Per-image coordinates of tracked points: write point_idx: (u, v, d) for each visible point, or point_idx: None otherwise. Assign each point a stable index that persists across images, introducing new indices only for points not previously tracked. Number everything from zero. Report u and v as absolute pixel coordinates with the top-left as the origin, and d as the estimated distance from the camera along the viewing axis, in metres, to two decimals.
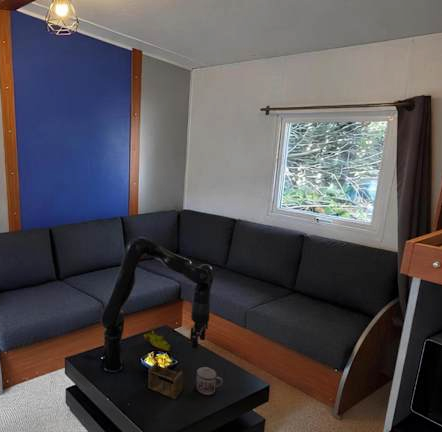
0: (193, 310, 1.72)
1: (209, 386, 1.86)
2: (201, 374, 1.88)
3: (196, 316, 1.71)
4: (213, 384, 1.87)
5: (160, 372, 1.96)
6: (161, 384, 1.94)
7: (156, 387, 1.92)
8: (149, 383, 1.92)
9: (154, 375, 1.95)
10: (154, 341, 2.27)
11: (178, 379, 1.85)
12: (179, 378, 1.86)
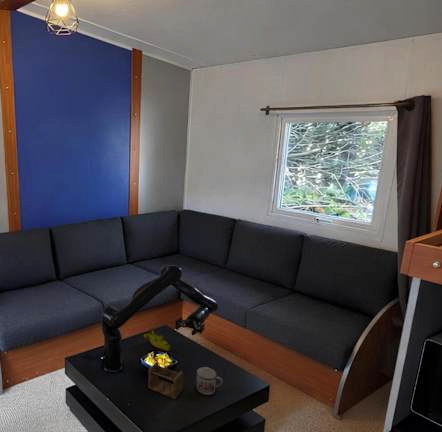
0: (203, 316, 2.13)
1: (209, 386, 1.86)
2: (201, 374, 1.88)
3: (202, 321, 2.11)
4: (213, 384, 1.87)
5: (160, 372, 1.96)
6: (161, 384, 1.94)
7: (156, 387, 1.92)
8: (149, 383, 1.92)
9: (154, 375, 1.95)
10: (154, 341, 2.27)
11: (178, 379, 1.85)
12: (179, 378, 1.86)
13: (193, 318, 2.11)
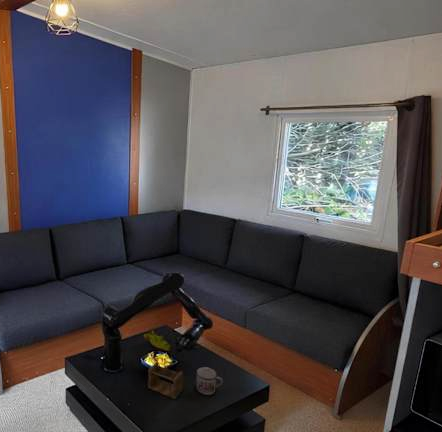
0: (197, 334, 2.11)
1: (209, 386, 1.86)
2: (201, 374, 1.88)
3: (197, 339, 2.10)
4: (213, 384, 1.87)
5: (160, 372, 1.96)
6: (161, 384, 1.94)
7: (156, 387, 1.92)
8: (149, 383, 1.92)
9: (154, 375, 1.95)
10: (154, 341, 2.27)
11: (178, 379, 1.85)
12: (179, 378, 1.86)
13: (188, 336, 2.09)
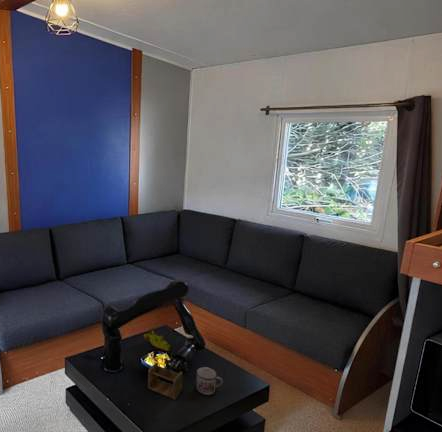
0: (189, 355, 2.05)
1: (209, 386, 1.86)
2: (201, 374, 1.88)
3: (188, 360, 2.03)
4: (213, 384, 1.87)
5: (160, 372, 1.96)
6: (161, 384, 1.94)
7: (156, 387, 1.91)
8: (149, 383, 1.92)
9: (154, 375, 1.94)
10: (154, 341, 2.27)
11: (178, 379, 1.85)
12: (179, 378, 1.86)
13: (179, 357, 2.03)
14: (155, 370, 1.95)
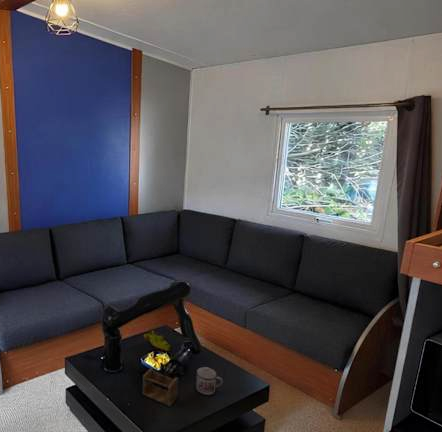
0: (185, 359, 2.01)
1: (209, 386, 1.86)
2: (201, 374, 1.88)
3: (184, 365, 1.99)
4: (213, 384, 1.87)
5: (155, 378, 1.91)
6: (156, 390, 1.89)
7: (151, 393, 1.87)
8: (143, 389, 1.88)
9: (149, 381, 1.90)
10: (154, 341, 2.27)
11: (173, 385, 1.81)
12: (174, 384, 1.82)
13: (175, 362, 1.99)
14: (150, 376, 1.91)
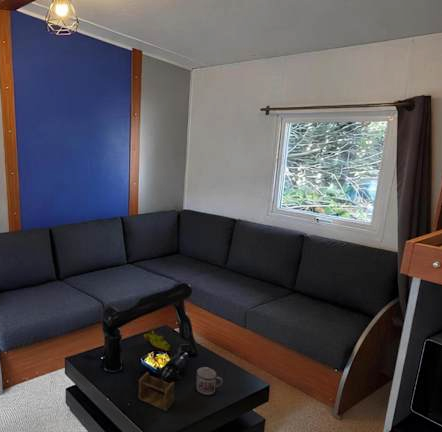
0: (182, 363, 1.98)
1: (209, 386, 1.86)
2: (201, 374, 1.88)
3: (181, 368, 1.96)
4: (213, 384, 1.87)
5: (151, 382, 1.88)
6: (152, 395, 1.86)
7: (147, 398, 1.84)
8: (139, 394, 1.85)
9: (145, 385, 1.87)
10: (154, 341, 2.27)
11: (169, 390, 1.78)
12: (170, 389, 1.79)
13: (171, 365, 1.96)
14: (146, 380, 1.87)
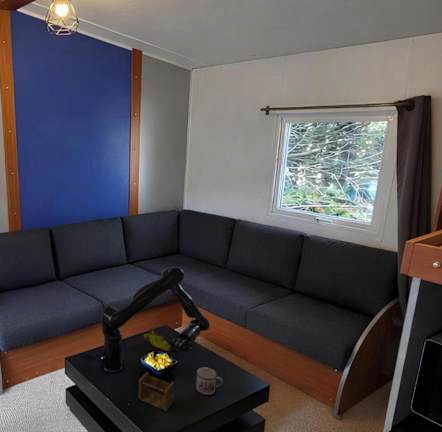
0: (193, 335, 2.06)
1: (209, 386, 1.86)
2: (201, 374, 1.88)
3: (193, 340, 2.05)
4: (213, 384, 1.87)
5: (151, 382, 1.88)
6: (152, 395, 1.86)
7: (147, 398, 1.84)
8: (139, 394, 1.85)
9: (145, 385, 1.87)
10: (154, 341, 2.27)
11: (169, 390, 1.78)
12: (170, 389, 1.79)
13: (184, 337, 2.04)
14: (146, 380, 1.87)
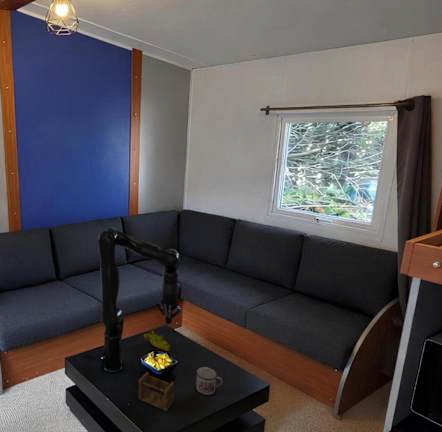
0: (174, 292, 1.89)
1: (209, 386, 1.86)
2: (201, 374, 1.88)
3: (176, 295, 1.90)
4: (213, 384, 1.87)
5: (151, 382, 1.88)
6: (152, 395, 1.86)
7: (147, 398, 1.84)
8: (139, 394, 1.85)
9: (145, 386, 1.87)
10: (154, 341, 2.27)
11: (169, 390, 1.78)
12: (170, 389, 1.79)
13: None
14: (146, 380, 1.87)
